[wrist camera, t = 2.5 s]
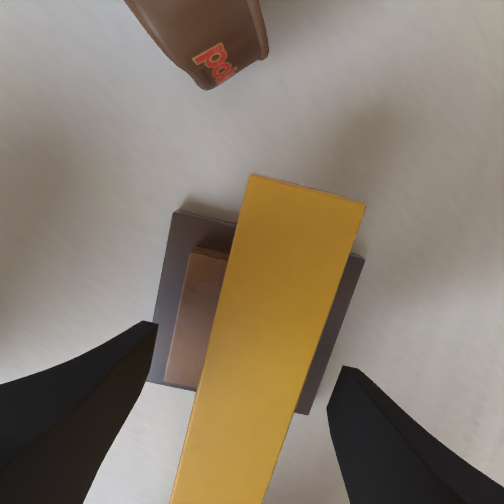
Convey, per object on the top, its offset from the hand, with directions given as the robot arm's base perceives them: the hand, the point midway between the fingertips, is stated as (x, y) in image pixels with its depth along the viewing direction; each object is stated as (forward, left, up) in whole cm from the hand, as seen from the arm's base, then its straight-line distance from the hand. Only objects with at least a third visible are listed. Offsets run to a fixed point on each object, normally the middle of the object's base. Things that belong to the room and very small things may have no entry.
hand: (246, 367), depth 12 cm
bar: (0, 0, -1) cm, 1 cm away
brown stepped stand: (0, 0, -4) cm, 4 cm away
